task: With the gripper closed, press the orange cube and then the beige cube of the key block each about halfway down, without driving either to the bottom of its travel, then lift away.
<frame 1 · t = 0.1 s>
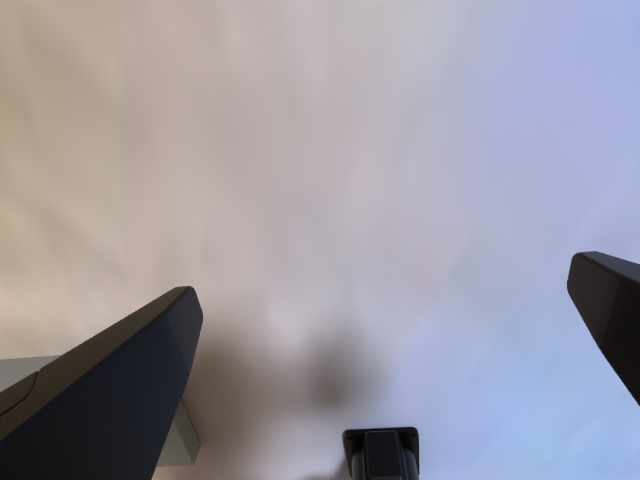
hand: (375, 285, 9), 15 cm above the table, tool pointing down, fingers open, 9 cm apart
key block: (66, 406, 34), on the table
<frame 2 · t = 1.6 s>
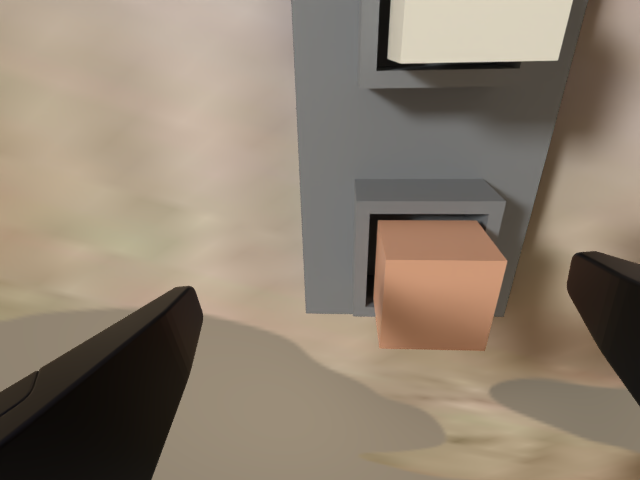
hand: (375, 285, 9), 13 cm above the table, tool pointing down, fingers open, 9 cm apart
orange cube: (429, 282, 16), point 7 cm above the table, slide at 0.0 cm
key block: (415, 124, 20), on the table
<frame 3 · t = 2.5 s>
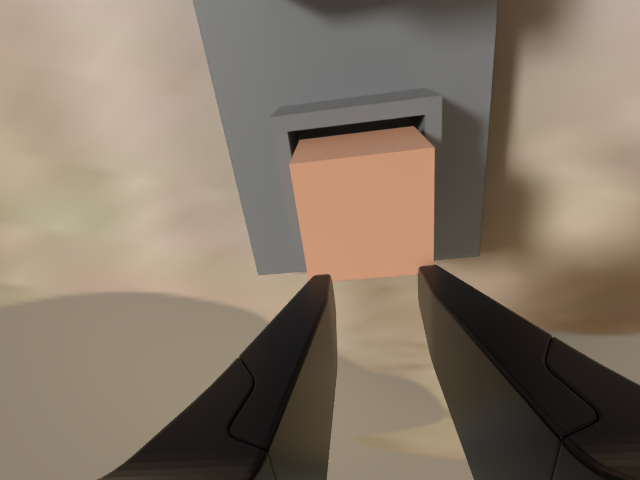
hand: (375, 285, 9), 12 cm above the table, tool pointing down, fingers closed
orange cube: (362, 202, 14), point 7 cm above the table, slide at 0.0 cm
key block: (345, 39, 17), on the table
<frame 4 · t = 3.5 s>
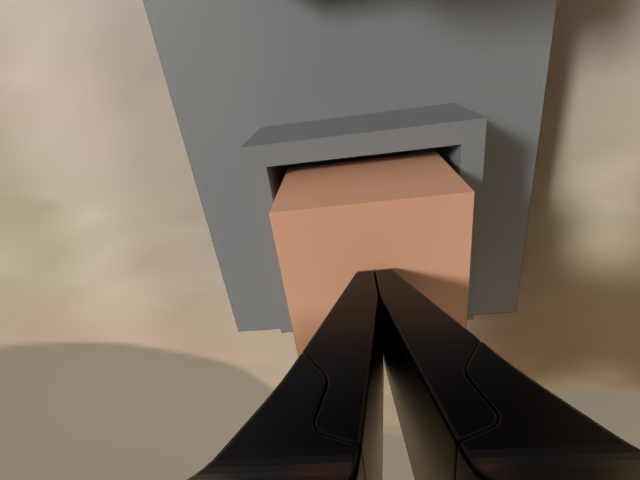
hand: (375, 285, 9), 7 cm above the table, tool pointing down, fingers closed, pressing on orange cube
orange cube: (369, 252, 11), point 6 cm above the table, slide at 0.9 cm, touching gripper
key block: (347, 38, 13), on the table
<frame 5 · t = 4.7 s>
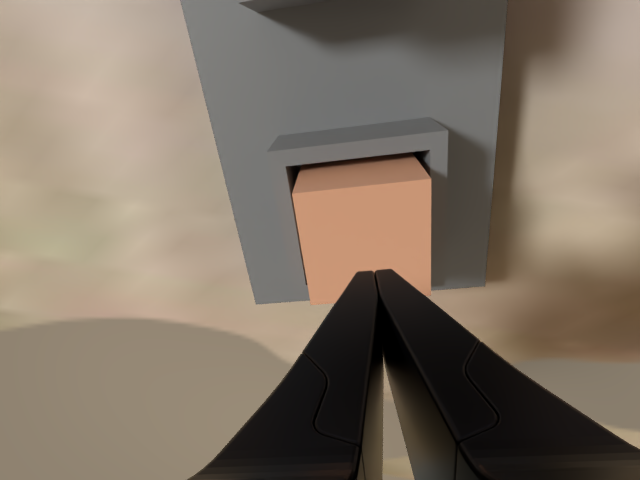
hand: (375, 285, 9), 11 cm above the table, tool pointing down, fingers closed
orange cube: (362, 226, 14), point 5 cm above the table, slide at 1.3 cm
key block: (346, 65, 17), on the table
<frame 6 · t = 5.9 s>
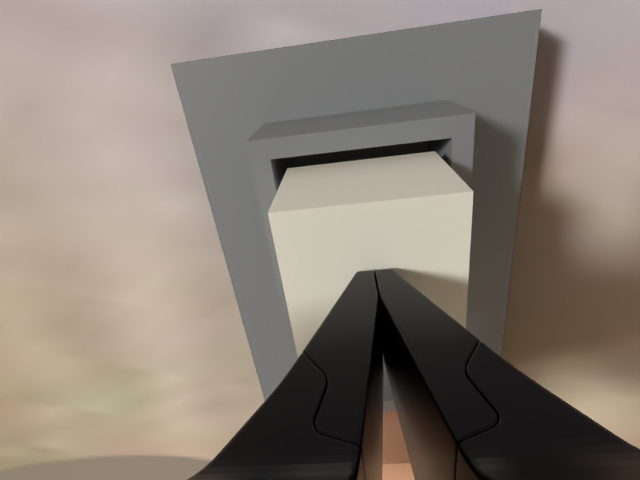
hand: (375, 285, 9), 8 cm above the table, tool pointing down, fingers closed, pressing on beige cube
orange cube: (384, 455, 17), point 5 cm above the table, slide at 1.3 cm
beige cube: (369, 252, 11), point 6 cm above the table, slide at 0.1 cm, touching gripper
key block: (367, 286, 19), on the table
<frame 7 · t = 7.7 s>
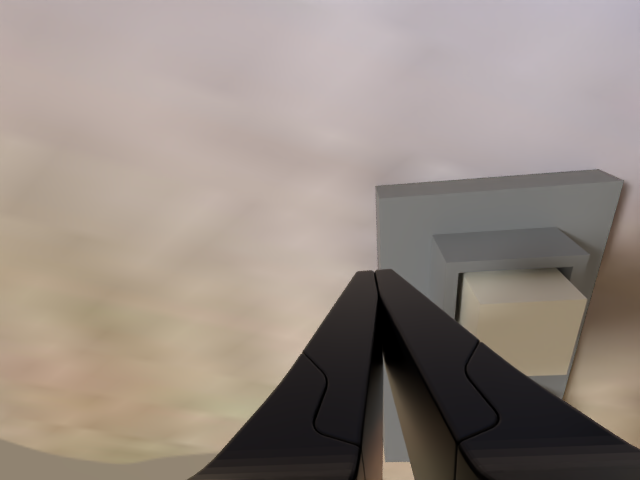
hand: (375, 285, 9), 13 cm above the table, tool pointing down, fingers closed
beige cube: (509, 316, 18), point 5 cm above the table, slide at 1.3 cm
key block: (467, 332, 26), on the table
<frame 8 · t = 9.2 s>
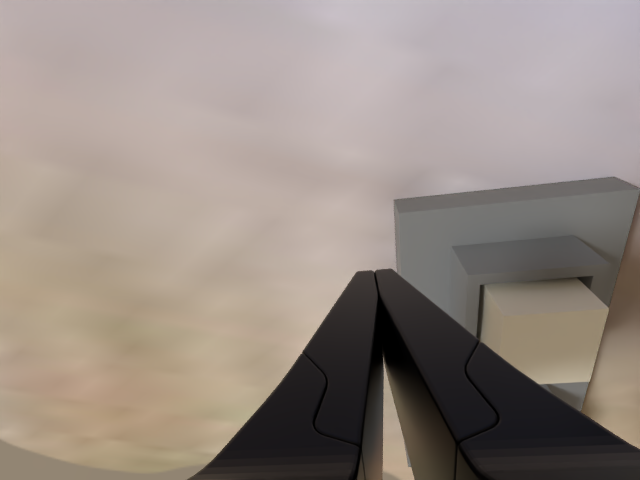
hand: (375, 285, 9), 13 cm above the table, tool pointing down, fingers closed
beige cube: (531, 325, 19), point 5 cm above the table, slide at 1.3 cm
key block: (487, 338, 26), on the table
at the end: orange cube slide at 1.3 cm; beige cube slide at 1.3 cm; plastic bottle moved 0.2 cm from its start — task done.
